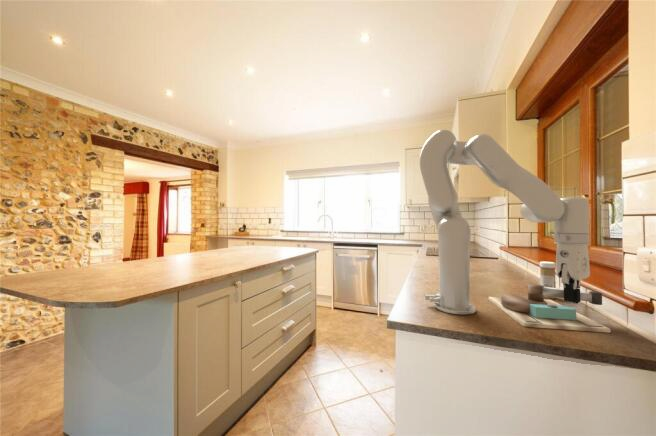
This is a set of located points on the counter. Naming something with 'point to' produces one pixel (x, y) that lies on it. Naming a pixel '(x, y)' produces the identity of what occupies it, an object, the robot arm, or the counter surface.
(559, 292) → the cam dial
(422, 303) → the counter surface
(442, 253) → the robot arm
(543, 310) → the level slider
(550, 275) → the sprinkles bottle
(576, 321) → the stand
